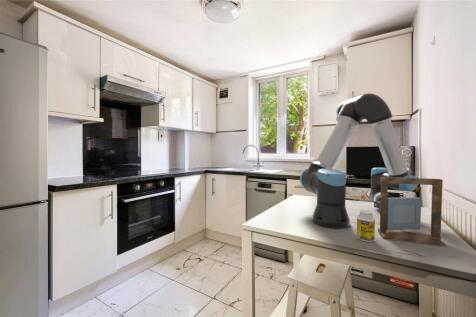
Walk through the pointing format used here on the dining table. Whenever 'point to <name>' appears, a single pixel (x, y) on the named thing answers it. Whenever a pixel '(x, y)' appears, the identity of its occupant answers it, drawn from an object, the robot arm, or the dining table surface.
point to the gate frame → (435, 212)
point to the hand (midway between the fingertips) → (403, 215)
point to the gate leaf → (403, 213)
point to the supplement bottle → (365, 226)
